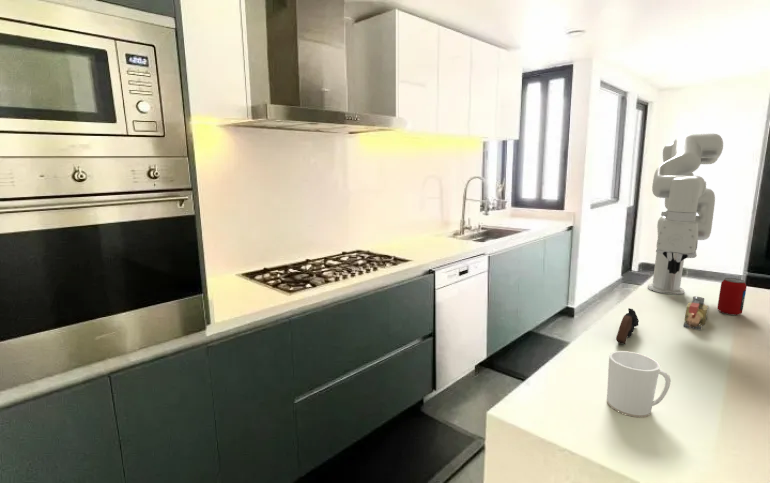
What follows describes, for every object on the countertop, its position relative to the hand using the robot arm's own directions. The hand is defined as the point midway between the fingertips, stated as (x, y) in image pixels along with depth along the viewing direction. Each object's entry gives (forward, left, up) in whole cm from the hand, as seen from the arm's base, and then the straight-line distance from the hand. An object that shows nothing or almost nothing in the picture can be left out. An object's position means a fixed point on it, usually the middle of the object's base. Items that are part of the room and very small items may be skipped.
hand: (673, 272), depth 132 cm
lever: (-1, +7, -11) cm, 13 cm away
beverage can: (-24, +15, -17) cm, 33 cm away
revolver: (+24, -6, -17) cm, 30 cm away
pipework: (-6, +7, -16) cm, 19 cm away
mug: (+66, +3, -17) cm, 68 cm away
